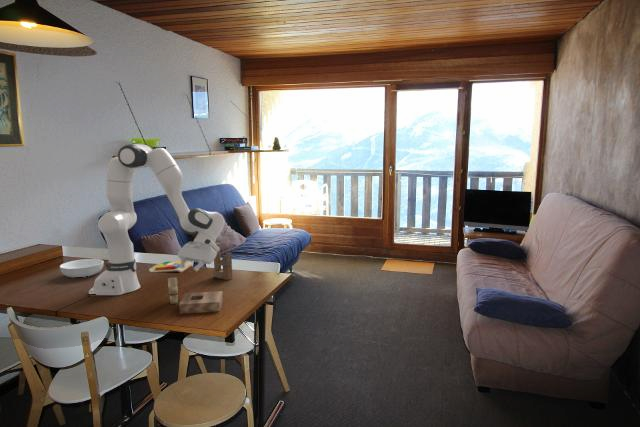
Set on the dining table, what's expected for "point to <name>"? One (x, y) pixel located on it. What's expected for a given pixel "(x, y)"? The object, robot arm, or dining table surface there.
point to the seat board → (201, 302)
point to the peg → (173, 290)
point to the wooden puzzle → (169, 267)
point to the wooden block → (223, 265)
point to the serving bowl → (82, 267)
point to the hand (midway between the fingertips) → (188, 268)
